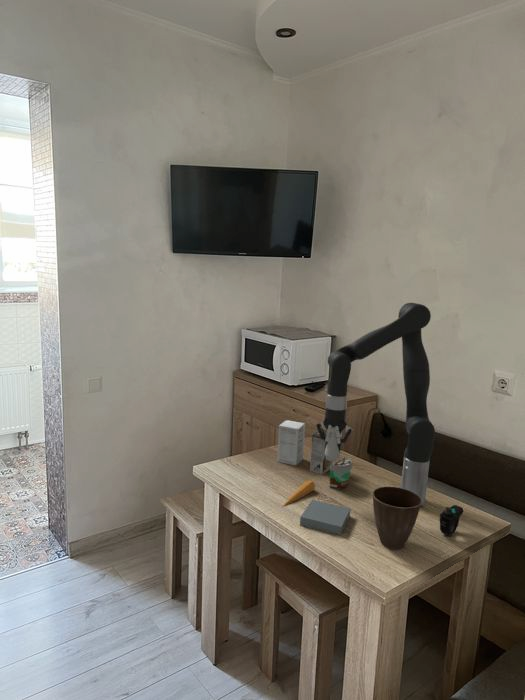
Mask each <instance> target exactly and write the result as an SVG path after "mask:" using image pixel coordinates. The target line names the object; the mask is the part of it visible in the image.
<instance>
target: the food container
mask: <svg viewBox="0 0 525 700" xmlns="http://www.w3.org/2000/svg"><path fill="white" fill-rule="evenodd" d="M352 469H353V462H352V460H351V459H350V458H348V457H346V456H343V458H342V459H341V460H338V461H336V462H334V463H333V464H332V465H331V464H330V469H329V470H328V471H329V488H330V489H333V490H343V489H346V488H348V486H349V479H350V474H351V470H352Z"/></svg>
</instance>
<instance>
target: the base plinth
mask: <svg viewBox="0 0 525 700" xmlns="http://www.w3.org/2000/svg"><path fill="white" fill-rule="evenodd" d="M350 516H351V508H350V507H346V506H341V505H337V504H332V503H330V502H329V503H328V502H325V501H320V500H315V499H311V501H310V502H309V503H308V505H307V506H306V508H305V510H304V511H303V512H302V514H301V515H300V517H299V518H300V520H299V526H301V527H306V528H310V529H314V530H318V531H321V532H322V531H323V532H326V533H330V534H334V535H338V536H341V535H342V533H343V531H344V529H345V527H346V525H347V523H348V521H349V520H350V519H349V518H350Z"/></svg>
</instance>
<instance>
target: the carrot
mask: <svg viewBox="0 0 525 700" xmlns="http://www.w3.org/2000/svg"><path fill="white" fill-rule="evenodd" d="M315 488H316V484H315V483H314V481H313V480H310V479H309V480H306V481H305V482H303V484H302V485H300V486H299V488H298V489H297V490H296V491H295V492H294V493H293V494H292V495H291V496H290V497H289V498H288V499H287V500H286V502H285V503H284V504H283V505H282V506H281V507H282V508H284V507H285V506H288V505H289V504H291V503H293V502H295V501H297V500H298V499H300V498H302V497H304V496H306V495H308V494H309V493H311V492H313V491H314V490H315Z"/></svg>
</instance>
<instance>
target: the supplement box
mask: <svg viewBox="0 0 525 700" xmlns="http://www.w3.org/2000/svg"><path fill="white" fill-rule="evenodd" d="M305 430H306V423H304V422H298V421H294V420H288V419H287V420H284V421H283V422H282V423H280V424H279V425H278V434H277V435H278V436H277V438H278V439H277V454H276V455H277V456H276V461H278V462H279V463H282V464H288V465H292V466H297V465H299V464H300V463H301V462H302V461H303V460H304V454H305V453H304V450H305V434H306V431H305Z"/></svg>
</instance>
